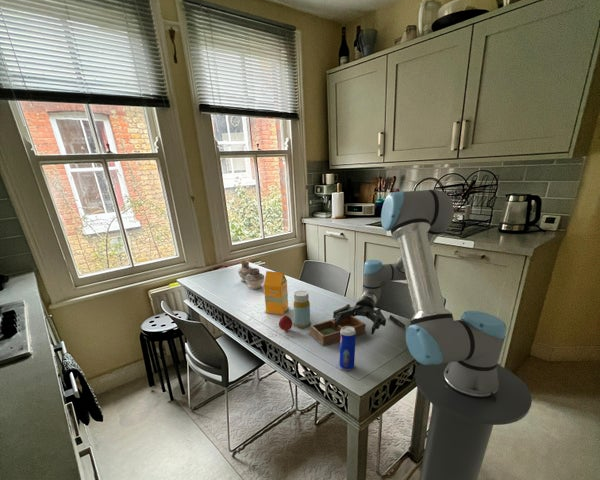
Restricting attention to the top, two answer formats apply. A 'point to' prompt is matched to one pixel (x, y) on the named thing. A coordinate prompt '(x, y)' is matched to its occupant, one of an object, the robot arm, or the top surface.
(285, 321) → the onion
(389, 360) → the top surface
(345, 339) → the beverage can
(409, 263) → the robot arm
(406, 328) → the kitchen knife
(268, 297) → the orange juice
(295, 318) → the bottle
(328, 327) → the wooden divided tray
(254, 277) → the pottery
